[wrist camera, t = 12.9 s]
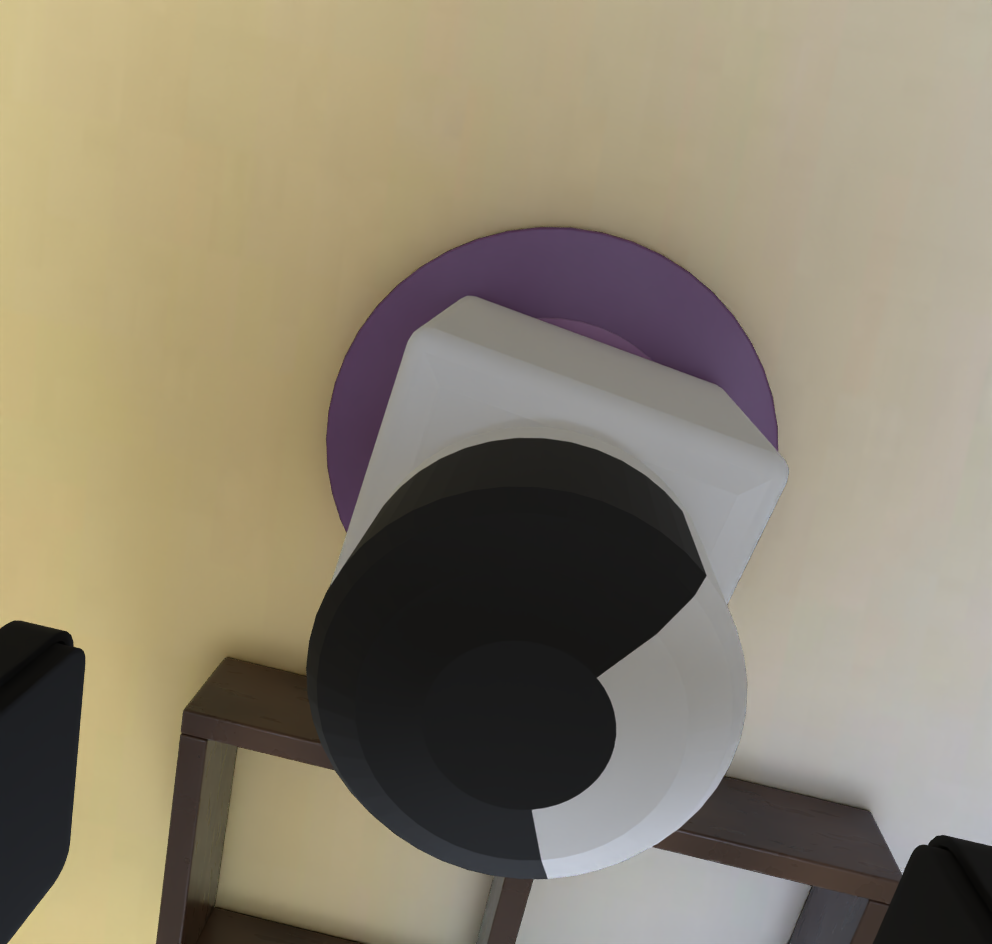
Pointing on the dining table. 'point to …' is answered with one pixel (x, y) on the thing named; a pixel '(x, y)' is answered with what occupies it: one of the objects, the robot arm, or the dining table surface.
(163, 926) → the frame
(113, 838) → the dining table surface
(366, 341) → the lid
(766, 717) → the dining table surface
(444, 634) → the medicine bottle
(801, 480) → the dining table surface
